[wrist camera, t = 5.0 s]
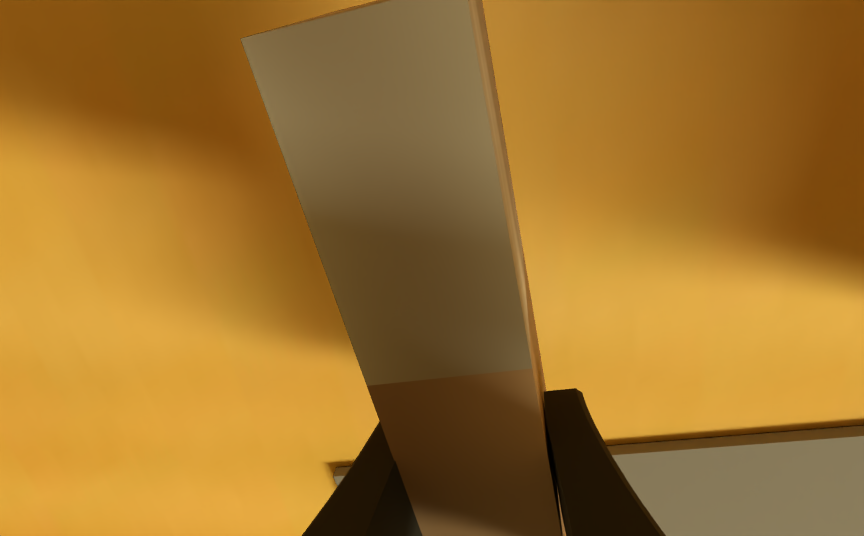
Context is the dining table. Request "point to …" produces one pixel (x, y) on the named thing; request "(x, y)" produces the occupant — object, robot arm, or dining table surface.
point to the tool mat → (749, 483)
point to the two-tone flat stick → (421, 249)
